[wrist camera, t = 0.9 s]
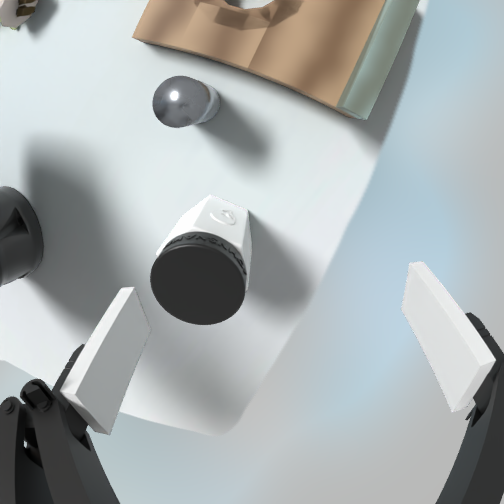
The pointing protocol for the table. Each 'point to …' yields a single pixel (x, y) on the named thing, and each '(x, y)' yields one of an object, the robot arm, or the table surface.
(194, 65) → the table surface
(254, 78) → the table surface
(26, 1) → the figurine
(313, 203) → the table surface
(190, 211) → the jar
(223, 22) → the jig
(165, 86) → the grey metal cylinder
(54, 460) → the robot arm
